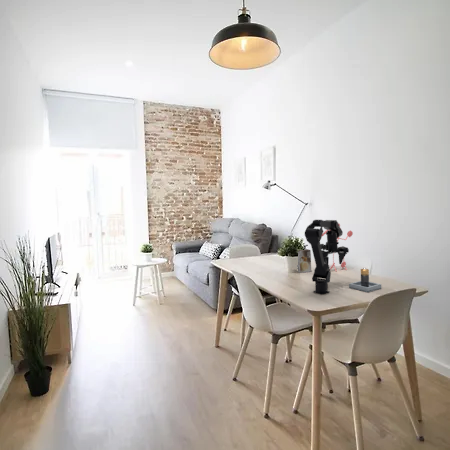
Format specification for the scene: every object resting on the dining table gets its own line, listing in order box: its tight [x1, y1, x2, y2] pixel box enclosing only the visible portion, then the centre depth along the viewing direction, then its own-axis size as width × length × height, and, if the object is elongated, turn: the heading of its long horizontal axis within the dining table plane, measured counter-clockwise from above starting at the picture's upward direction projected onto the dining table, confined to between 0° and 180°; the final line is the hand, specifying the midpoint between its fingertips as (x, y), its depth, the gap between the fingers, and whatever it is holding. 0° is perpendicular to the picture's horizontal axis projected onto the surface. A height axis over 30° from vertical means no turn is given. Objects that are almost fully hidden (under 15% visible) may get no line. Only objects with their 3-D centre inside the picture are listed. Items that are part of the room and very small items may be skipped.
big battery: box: [360, 267, 370, 287], centre depth 192 cm, size 4×4×11 cm
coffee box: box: [297, 248, 312, 274], centre depth 241 cm, size 9×6×16 cm
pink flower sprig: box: [322, 223, 354, 272], centre depth 244 cm, size 15×26×35 cm, turn 111°
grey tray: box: [348, 280, 382, 293], centre depth 192 cm, size 12×12×2 cm
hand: (333, 265), depth 202 cm, fingers open, 9 cm apart
